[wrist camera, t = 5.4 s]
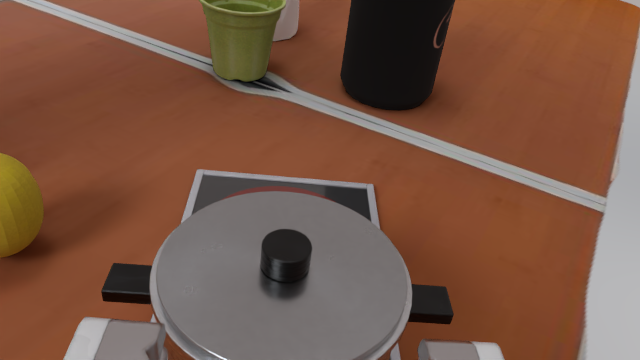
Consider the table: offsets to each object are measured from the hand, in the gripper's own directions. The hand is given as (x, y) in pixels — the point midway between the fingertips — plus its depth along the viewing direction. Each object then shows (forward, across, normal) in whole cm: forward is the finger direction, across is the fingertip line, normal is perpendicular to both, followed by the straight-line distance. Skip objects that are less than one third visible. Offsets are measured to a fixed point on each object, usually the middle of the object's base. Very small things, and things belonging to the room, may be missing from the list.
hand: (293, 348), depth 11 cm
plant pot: (+52, +6, +18) cm, 56 cm away
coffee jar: (+51, -11, +18) cm, 55 cm away
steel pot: (+11, 0, +18) cm, 21 cm away
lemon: (+20, +18, +18) cm, 33 cm away
